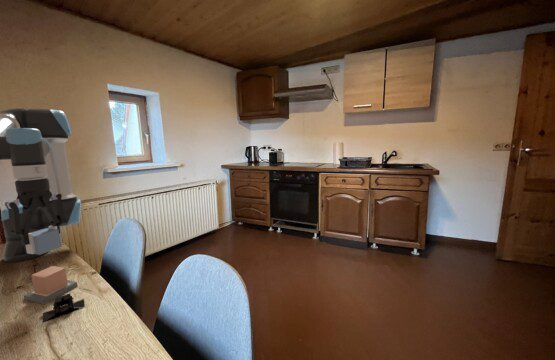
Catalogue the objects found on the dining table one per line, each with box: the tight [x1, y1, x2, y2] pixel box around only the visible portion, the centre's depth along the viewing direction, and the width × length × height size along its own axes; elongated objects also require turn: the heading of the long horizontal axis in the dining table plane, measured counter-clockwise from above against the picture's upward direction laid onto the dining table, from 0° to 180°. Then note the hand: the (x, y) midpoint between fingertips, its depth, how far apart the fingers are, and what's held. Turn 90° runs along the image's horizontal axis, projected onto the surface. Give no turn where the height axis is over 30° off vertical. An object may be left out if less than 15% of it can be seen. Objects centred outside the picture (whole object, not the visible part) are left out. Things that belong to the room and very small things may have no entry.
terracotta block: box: [30, 265, 68, 295], centre depth 81 cm, size 6×6×6 cm
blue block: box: [25, 228, 62, 255], centre depth 79 cm, size 6×6×6 cm
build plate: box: [42, 293, 86, 324], centre depth 73 cm, size 12×7×5 cm, turn 131°
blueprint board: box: [23, 279, 79, 305], centre depth 82 cm, size 10×9×2 cm
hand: (44, 248), depth 80 cm, fingers closed on blue block, 6 cm apart
